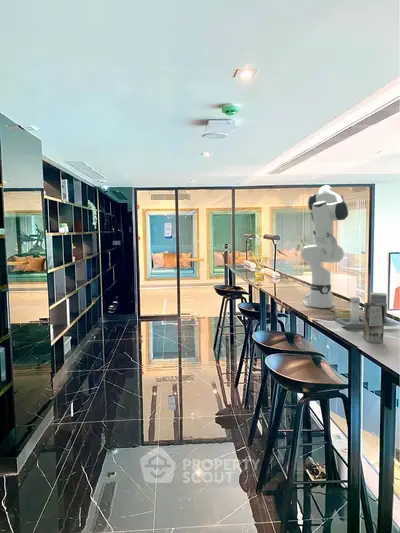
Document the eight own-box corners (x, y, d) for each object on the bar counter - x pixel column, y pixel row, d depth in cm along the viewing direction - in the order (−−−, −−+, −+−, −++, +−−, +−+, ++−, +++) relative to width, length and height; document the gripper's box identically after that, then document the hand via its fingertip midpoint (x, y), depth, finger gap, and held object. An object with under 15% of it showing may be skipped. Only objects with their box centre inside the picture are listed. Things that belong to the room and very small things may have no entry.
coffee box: (383, 343, 169) (385, 306, 168) (367, 342, 171) (369, 305, 169) (378, 337, 178) (379, 302, 177) (363, 337, 179) (364, 301, 178)
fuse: (347, 324, 201) (348, 297, 199) (356, 324, 201) (357, 297, 200) (352, 326, 196) (353, 298, 195) (360, 326, 197) (361, 298, 195)
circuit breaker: (370, 325, 201) (371, 296, 200) (369, 319, 214) (370, 292, 213) (386, 327, 198) (387, 297, 197) (384, 320, 211) (385, 293, 210)
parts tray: (335, 324, 204) (335, 318, 203) (361, 323, 205) (361, 317, 205) (346, 330, 192) (347, 323, 192) (373, 329, 194) (374, 323, 193)
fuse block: (330, 317, 219) (330, 309, 219) (350, 317, 220) (350, 309, 220) (340, 322, 207) (340, 314, 207) (361, 322, 209) (362, 313, 208)
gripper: (338, 232, 200) (343, 258, 204) (322, 228, 220) (326, 251, 224) (327, 236, 200) (331, 261, 203) (311, 231, 220) (315, 254, 223)
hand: (328, 256), depth 214 cm, fingers open, 8 cm apart
